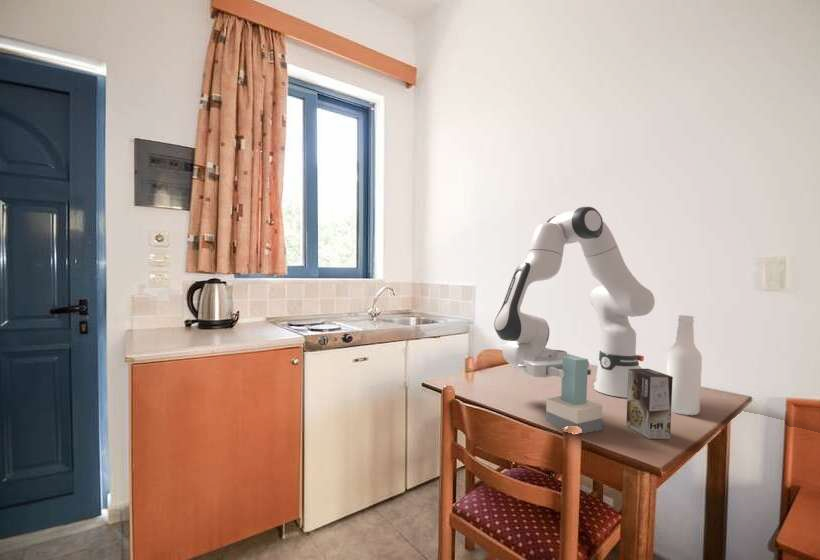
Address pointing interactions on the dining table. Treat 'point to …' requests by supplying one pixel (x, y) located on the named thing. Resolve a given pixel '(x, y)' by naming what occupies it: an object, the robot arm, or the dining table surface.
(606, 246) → the robot arm
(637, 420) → the coffee box
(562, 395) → the teal post
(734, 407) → the dining table surface
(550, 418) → the slab bottom
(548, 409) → the slab top
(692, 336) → the alcohol
